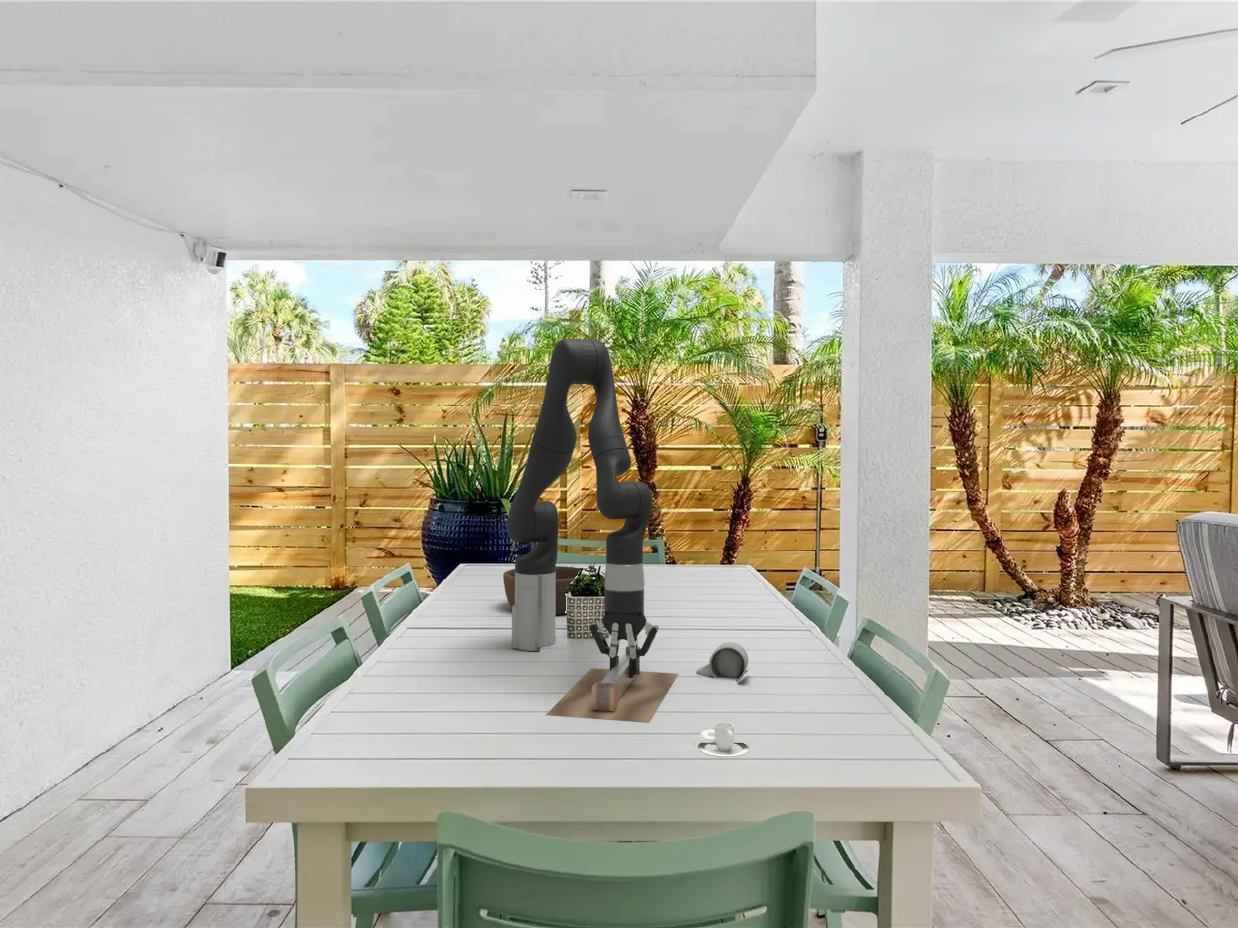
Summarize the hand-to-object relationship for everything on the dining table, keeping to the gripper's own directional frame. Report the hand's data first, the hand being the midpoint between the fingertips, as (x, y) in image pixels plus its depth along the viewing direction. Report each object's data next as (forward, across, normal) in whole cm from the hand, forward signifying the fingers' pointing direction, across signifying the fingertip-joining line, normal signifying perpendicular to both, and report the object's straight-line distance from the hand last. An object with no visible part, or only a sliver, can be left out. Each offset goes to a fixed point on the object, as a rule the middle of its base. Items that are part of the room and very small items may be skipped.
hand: (623, 676), depth 178 cm
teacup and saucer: (+4, +23, -25) cm, 34 cm away
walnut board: (+3, 0, -5) cm, 6 cm away
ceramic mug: (+3, +18, +13) cm, 22 cm away
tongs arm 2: (+1, +1, -5) cm, 6 cm away
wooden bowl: (+2, -37, +74) cm, 82 cm away
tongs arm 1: (+1, -1, -5) cm, 6 cm away
